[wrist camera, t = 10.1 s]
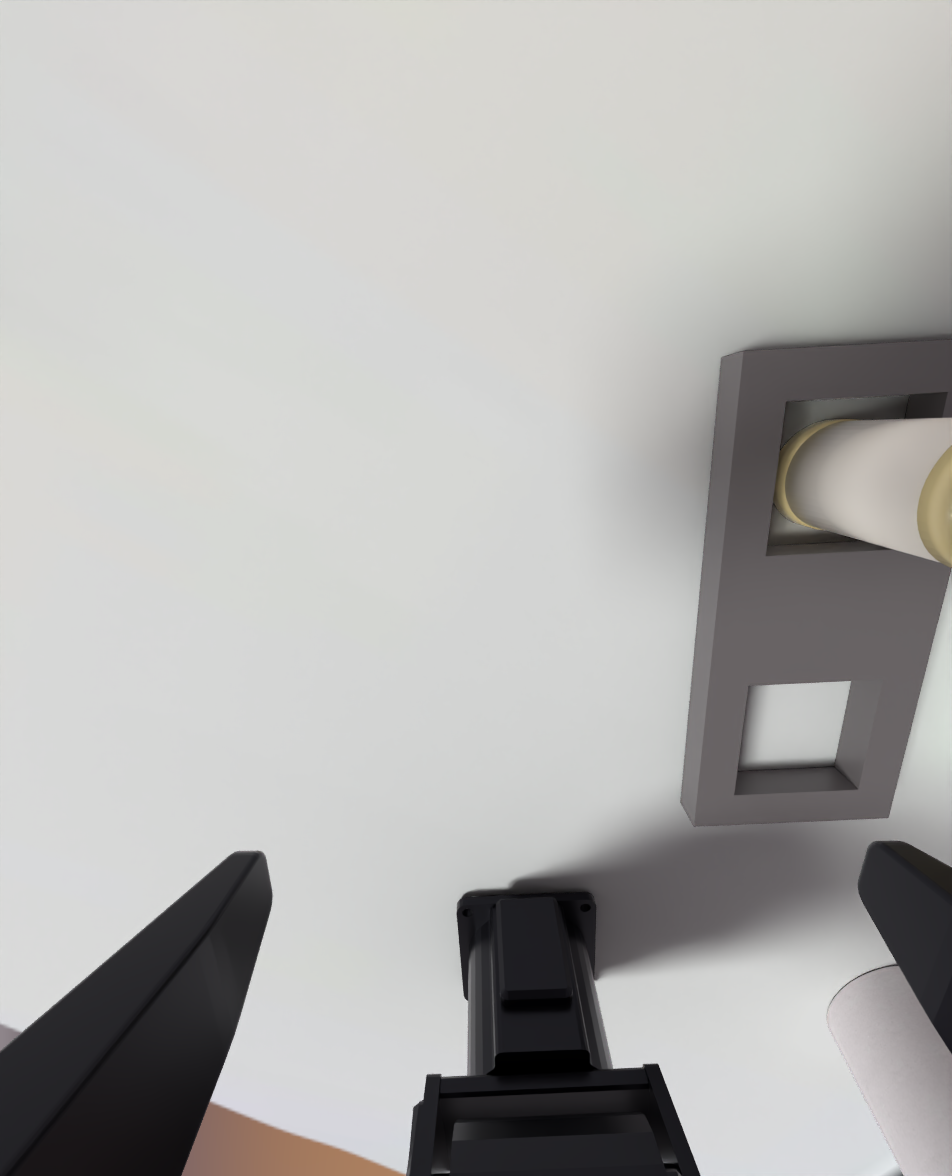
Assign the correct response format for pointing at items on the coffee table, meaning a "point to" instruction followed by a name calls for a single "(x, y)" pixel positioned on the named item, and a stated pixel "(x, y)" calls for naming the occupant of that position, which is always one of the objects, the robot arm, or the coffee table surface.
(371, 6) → the coffee table surface
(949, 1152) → the coffee cup
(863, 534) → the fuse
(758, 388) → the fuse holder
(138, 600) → the coffee table surface
